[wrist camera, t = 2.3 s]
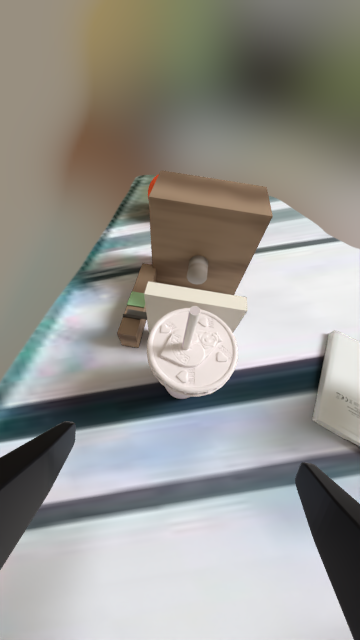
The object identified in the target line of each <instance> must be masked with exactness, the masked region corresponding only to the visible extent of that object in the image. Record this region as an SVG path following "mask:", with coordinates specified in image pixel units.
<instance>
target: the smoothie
mask: <svg viewBox="0 0 360 640" xmlns="http://www.w3.org/2000/svg"><path fill="white" fill-rule="evenodd" d="M147 357H148V363H149V366H150V368H151V370H152V372H153V375H154V376H155V377H156V378H157V379H158V381H159V382H160V383H161V384H162V385H163V386H165V388H166V389H167V391H168V393H169V394H170V395H171V396H173V397H175V398H178V399H185V398H188V397H191V396H197V397H198V396H203V395H207V394H211V393H212V392H214V391H216V390H218V389H219V388H221V387H222V386H223V385H224V384H225V383H226V382H227V381H228V379H229V378H230V376H231V375H232V373H233V372H234V370H235V367H236V364H237V360H238V347H237V342H236V339H235V337H234V335H233V333H232V331H231V330H230V328H229V327H228V326H227V325H226V323H225V322H224V321H222V320H221V319H220V318H219V317H217V316H216V315H214V314H212V313H210V312H208V311H205V310H201V309H200V308H199V307H197V306H192V307H191V308H183V309H178V310H174V311H172V312H169V313H168V314H166V315H164V316H163V317H162V318H160V319H159V320H158V321H157V322H156V324H155V325H154V326H153V328H152V330H151V332H150V334H149V337H148V342H147Z"/></svg>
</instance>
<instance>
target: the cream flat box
mask: <svg viewBox="0 0 360 640" xmlns="http://www.w3.org/2000/svg"><path fill="white" fill-rule="evenodd" d="M144 297H145V305H146V312H143V311H137V310H131V309H128V310H127V313H126V314H127V317H133V318H139V319H145V320H147V321H148V329H149V332H151V330H152V328H153V326H154V325H155V324H156V322H157V321H158V320H159V319H160V318H162V317H163V316H164V315H166V314H168V313H169V312H172V311H174V310H178V309H183V308H191V307H192V306H197V307H199V308H200V309H201V310H205V311H208V312H210V313H212V314H214V315H216V316H217V317H219V318H220V319H221V320H222V321H224V322H225V323H226V325H227V326H228V327H229V328H230V330H231V331H232V333H233V332H234V330H235V329H236V327H237V326H238V324H239V323H240V321H241V320H242V318H243V317H244V315H245V314H246V312H247V297H241V296H235V295H229V294H223V293H217V292H211V291H204V290H198V289H192V288H186V287H180V286H174V285H168V284H162V283H155V282H149V281H148V284H147V287H146V290H145V293H144Z"/></svg>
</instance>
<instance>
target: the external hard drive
mask: <svg viewBox="0 0 360 640" xmlns="http://www.w3.org/2000/svg"><path fill="white" fill-rule="evenodd" d="M312 420H313V421H314V422H316V423H318V424H319V425H321V426H323V427H324V428H326V429H328V430H330V431H331V432H333V433H335V434H336V435H338V436H340V437H341V438H343V439H345V440H348V441H350V442H352V443H354V444H356V445H357V446H359V448H360V341H358V340H355V339H353V338H351V337H349V336H347V335H345V334H343V333H341V332H338V331H333V332H331V333H329V335H328V340H327V345H326V351H325V356H324V361H323V366H322V371H321V376H320V382H319V387H318V392H317V397H316V403H315V408H314V412H313V418H312Z"/></svg>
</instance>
